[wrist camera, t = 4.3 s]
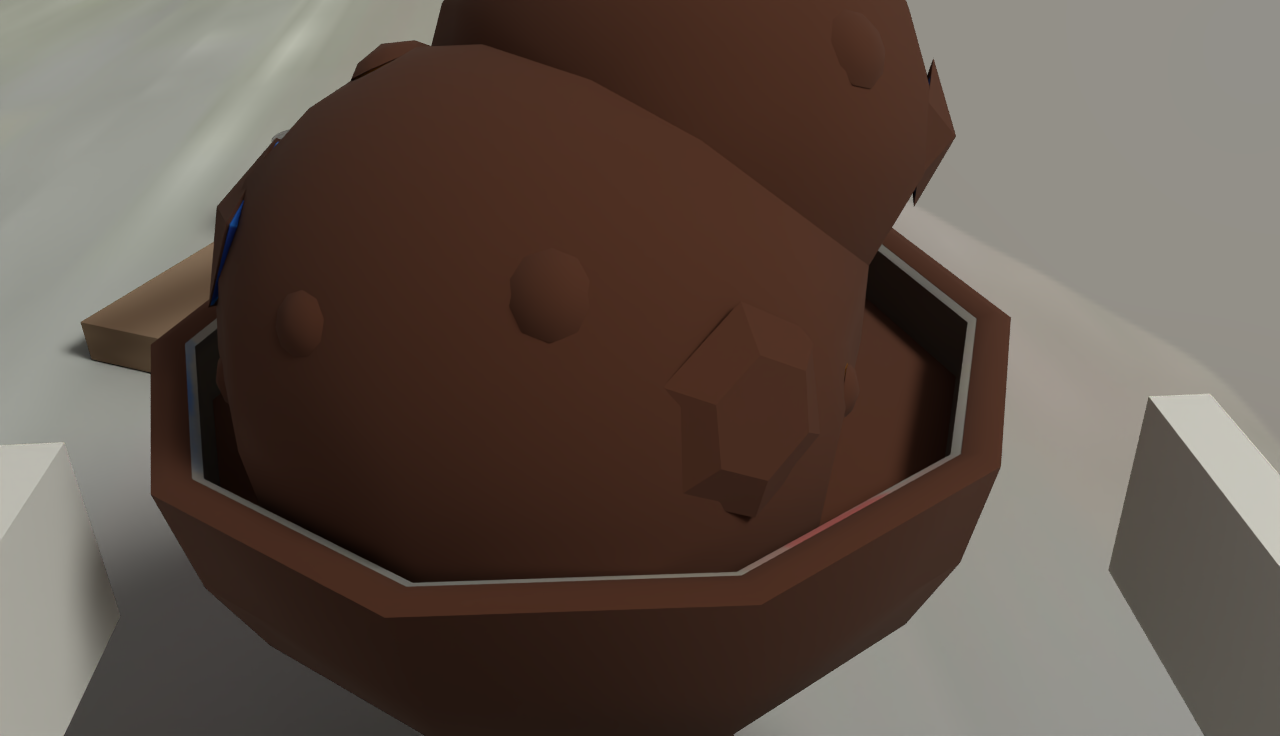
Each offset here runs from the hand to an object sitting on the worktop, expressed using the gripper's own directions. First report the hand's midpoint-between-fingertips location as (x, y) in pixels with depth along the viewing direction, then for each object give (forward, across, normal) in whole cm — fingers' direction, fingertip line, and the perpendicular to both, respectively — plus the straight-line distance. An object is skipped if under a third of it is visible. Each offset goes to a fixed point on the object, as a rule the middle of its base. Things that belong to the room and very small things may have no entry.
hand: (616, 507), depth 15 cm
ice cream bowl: (+2, 0, -8) cm, 8 cm away
